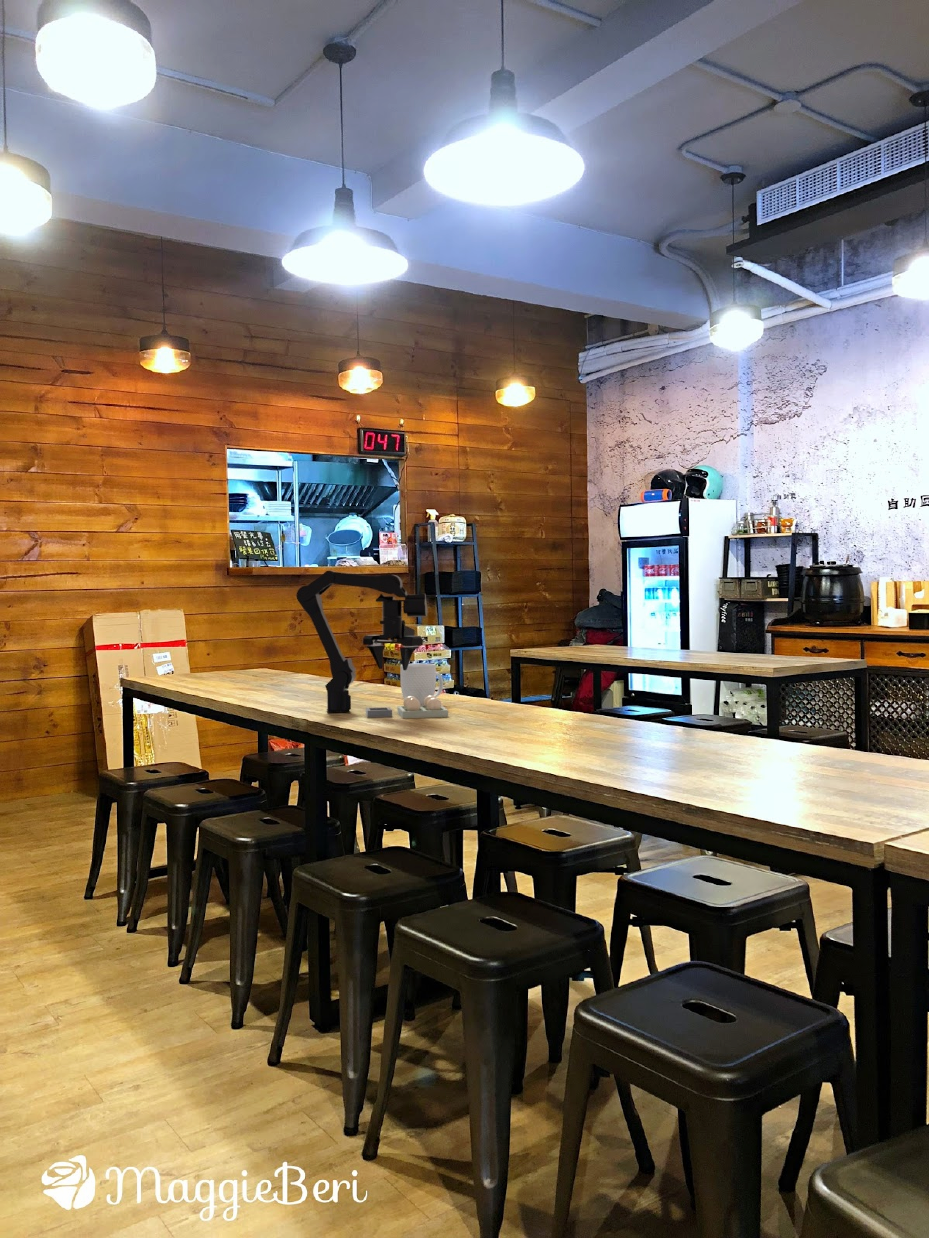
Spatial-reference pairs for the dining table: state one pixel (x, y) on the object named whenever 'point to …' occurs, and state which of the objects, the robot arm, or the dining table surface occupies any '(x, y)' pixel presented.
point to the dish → (379, 712)
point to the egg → (413, 705)
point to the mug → (420, 681)
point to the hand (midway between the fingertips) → (392, 669)
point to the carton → (424, 709)
